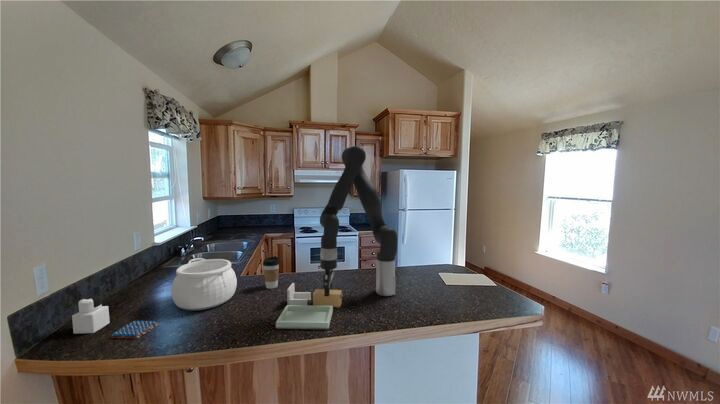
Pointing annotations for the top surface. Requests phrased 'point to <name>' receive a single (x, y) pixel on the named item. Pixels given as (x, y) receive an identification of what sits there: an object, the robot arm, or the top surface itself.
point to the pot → (203, 284)
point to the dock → (297, 296)
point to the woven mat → (134, 329)
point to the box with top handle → (327, 298)
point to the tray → (305, 317)
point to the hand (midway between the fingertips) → (328, 292)
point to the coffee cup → (271, 272)
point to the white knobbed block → (90, 315)
